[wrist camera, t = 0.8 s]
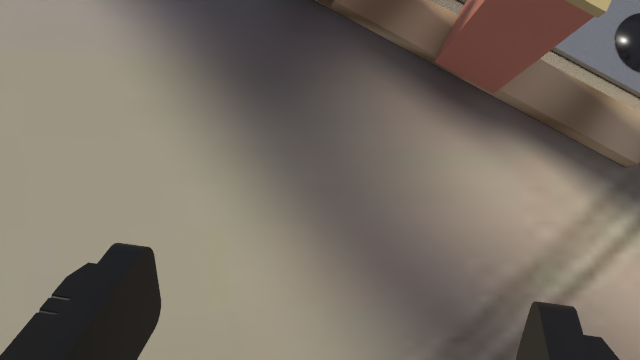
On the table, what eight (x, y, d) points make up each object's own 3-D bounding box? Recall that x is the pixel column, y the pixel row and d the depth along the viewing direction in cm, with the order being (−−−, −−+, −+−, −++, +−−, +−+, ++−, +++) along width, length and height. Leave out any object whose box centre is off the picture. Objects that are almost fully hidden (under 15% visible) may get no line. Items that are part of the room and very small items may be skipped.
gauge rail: (266, -15, 36) (266, -168, 23) (298, -70, 37) (315, -246, 24) (622, 175, 36) (813, 127, 23) (647, 118, 37) (845, 40, 24)
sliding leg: (432, 62, 35) (513, -39, 23) (461, 4, 35) (554, -121, 24) (494, 95, 35) (606, 11, 23) (522, 37, 35) (644, -73, 24)
